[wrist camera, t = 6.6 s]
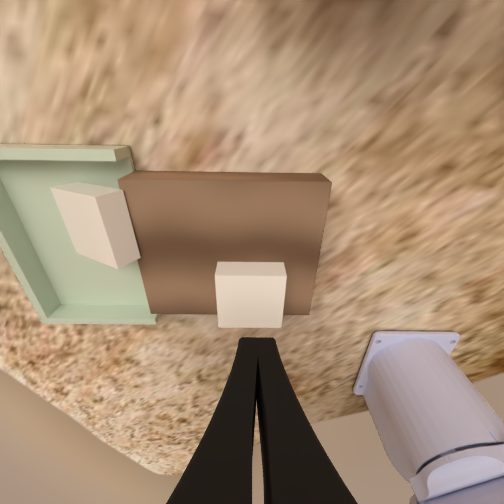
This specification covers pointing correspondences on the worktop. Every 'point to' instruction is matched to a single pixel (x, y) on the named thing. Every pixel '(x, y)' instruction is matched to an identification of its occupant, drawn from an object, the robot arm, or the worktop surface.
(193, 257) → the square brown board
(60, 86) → the worktop surface
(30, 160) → the tray
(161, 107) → the worktop surface
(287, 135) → the worktop surface
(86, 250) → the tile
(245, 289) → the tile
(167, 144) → the worktop surface
